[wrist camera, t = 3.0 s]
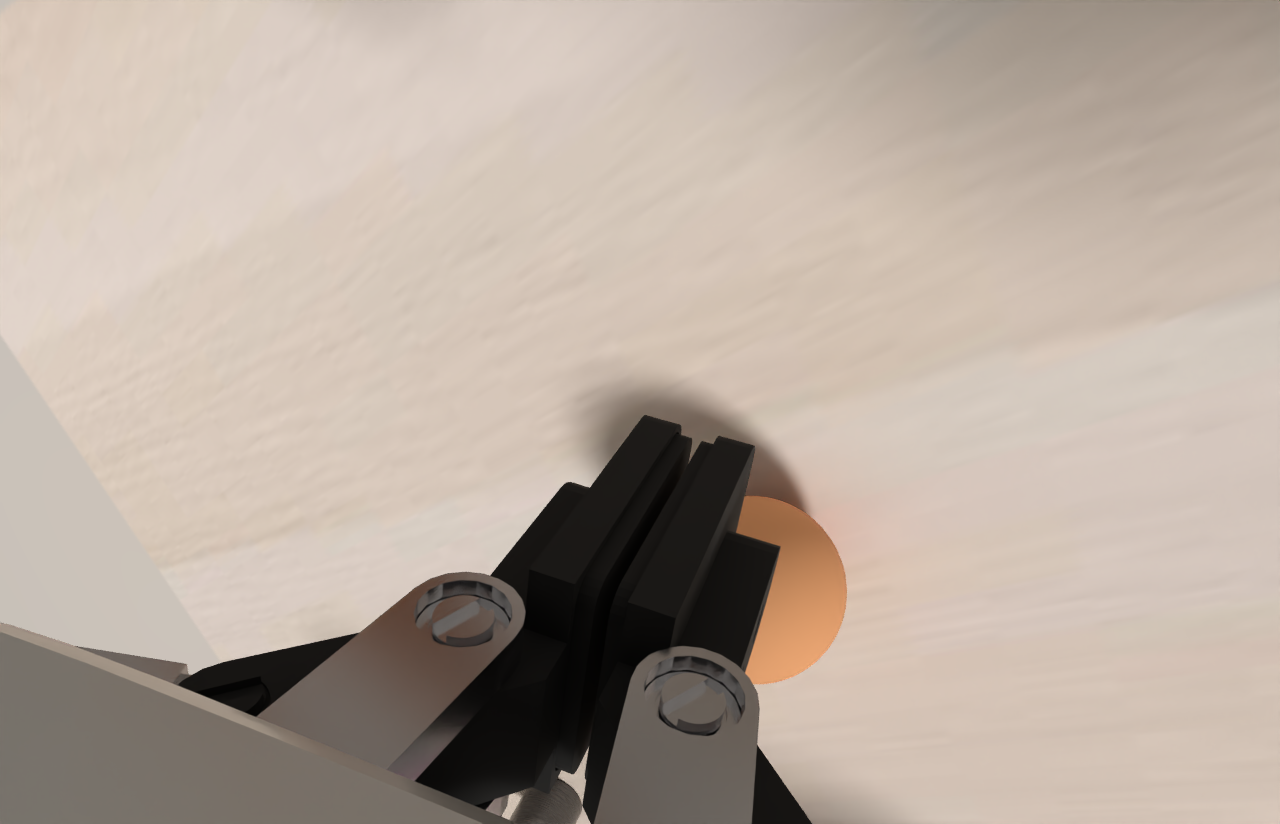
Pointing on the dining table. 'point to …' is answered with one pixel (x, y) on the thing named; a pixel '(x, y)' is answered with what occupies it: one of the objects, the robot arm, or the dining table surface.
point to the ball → (794, 590)
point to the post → (548, 806)
